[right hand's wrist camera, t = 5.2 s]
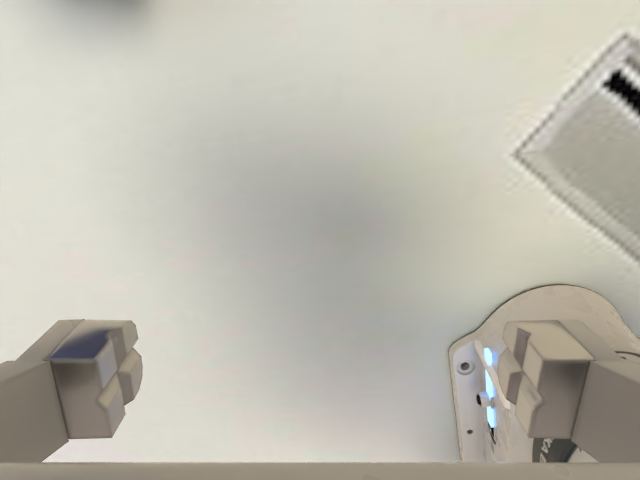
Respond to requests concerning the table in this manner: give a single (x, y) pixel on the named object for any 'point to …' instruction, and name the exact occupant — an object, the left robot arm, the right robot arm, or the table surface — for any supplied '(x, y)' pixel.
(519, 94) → the table surface
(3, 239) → the table surface
